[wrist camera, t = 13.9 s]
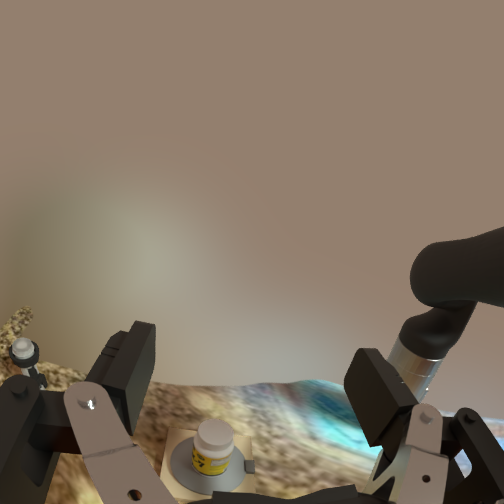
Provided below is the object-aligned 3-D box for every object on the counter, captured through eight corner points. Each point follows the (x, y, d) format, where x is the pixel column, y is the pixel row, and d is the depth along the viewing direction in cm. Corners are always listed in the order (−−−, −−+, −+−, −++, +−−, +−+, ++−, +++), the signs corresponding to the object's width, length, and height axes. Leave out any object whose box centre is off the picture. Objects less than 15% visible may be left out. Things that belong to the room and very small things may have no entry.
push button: (43, 412, 28) (25, 365, 26) (17, 403, 27) (-3, 356, 24) (55, 385, 35) (42, 338, 32) (30, 378, 33) (16, 331, 31)
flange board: (249, 440, 36) (251, 433, 35) (254, 506, 24) (257, 502, 24) (169, 430, 34) (169, 423, 34) (157, 497, 23) (156, 492, 22)
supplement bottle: (186, 453, 30) (188, 418, 27) (219, 447, 32) (226, 412, 29) (199, 481, 26) (203, 451, 23) (233, 473, 28) (244, 441, 25)
